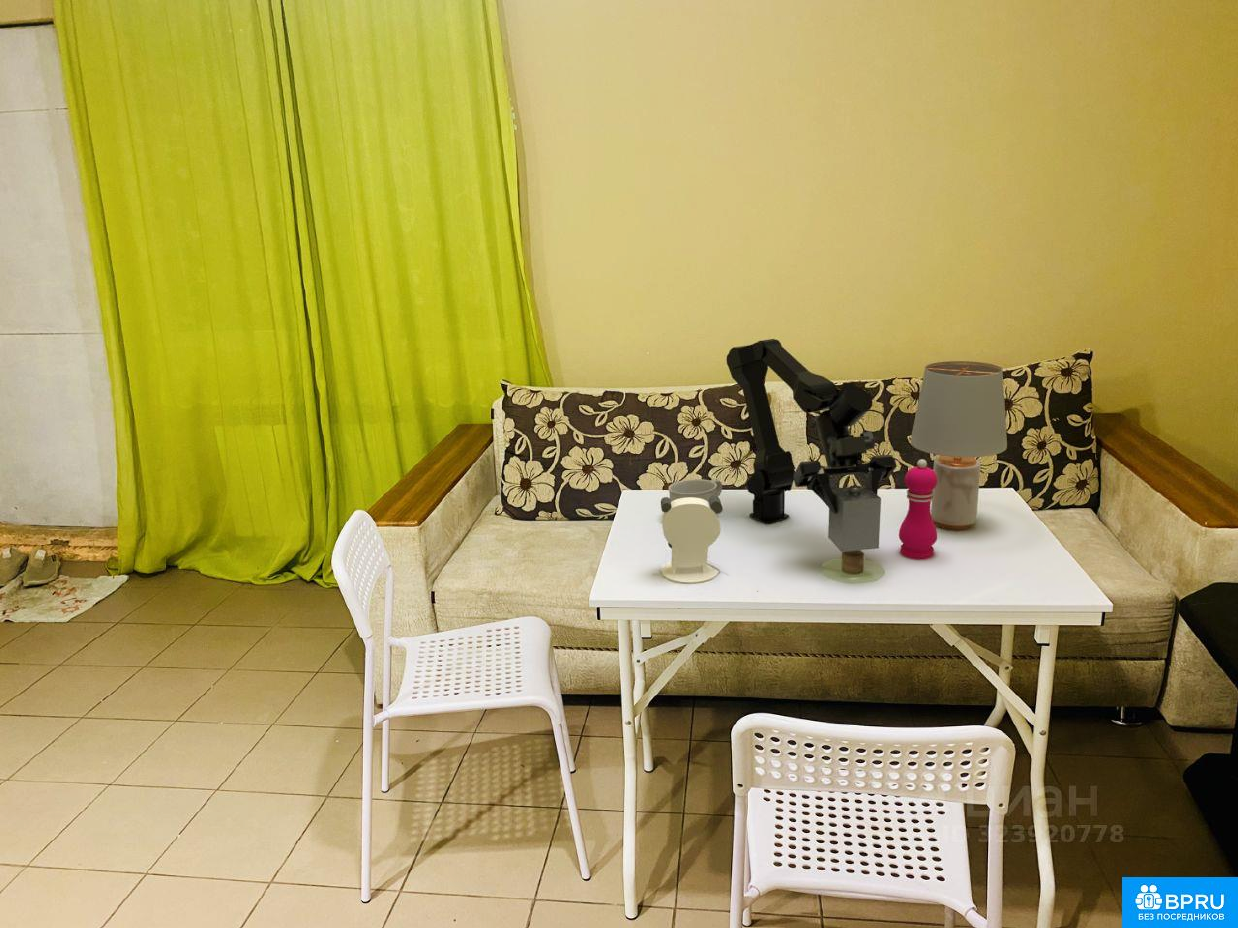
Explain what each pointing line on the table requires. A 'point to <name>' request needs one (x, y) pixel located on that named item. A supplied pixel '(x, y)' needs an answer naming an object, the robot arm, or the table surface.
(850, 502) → the cover
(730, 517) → the table surface
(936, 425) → the lamp
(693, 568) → the panda figurine
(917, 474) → the pepper mill
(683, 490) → the teacup
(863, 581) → the plate
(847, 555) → the wooden cylinder
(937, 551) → the table surface
